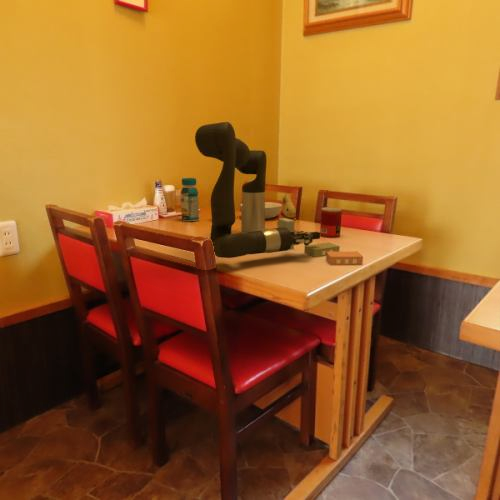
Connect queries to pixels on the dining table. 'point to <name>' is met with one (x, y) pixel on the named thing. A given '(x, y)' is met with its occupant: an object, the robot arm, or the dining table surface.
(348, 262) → the digit tile 3
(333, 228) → the canned food
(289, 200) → the yellow pear
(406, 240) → the dining table surface
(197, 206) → the beverage bottle
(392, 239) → the dining table surface
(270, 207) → the serving bowl
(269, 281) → the dining table surface
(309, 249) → the digit tile 2
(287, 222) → the digit tile 1
